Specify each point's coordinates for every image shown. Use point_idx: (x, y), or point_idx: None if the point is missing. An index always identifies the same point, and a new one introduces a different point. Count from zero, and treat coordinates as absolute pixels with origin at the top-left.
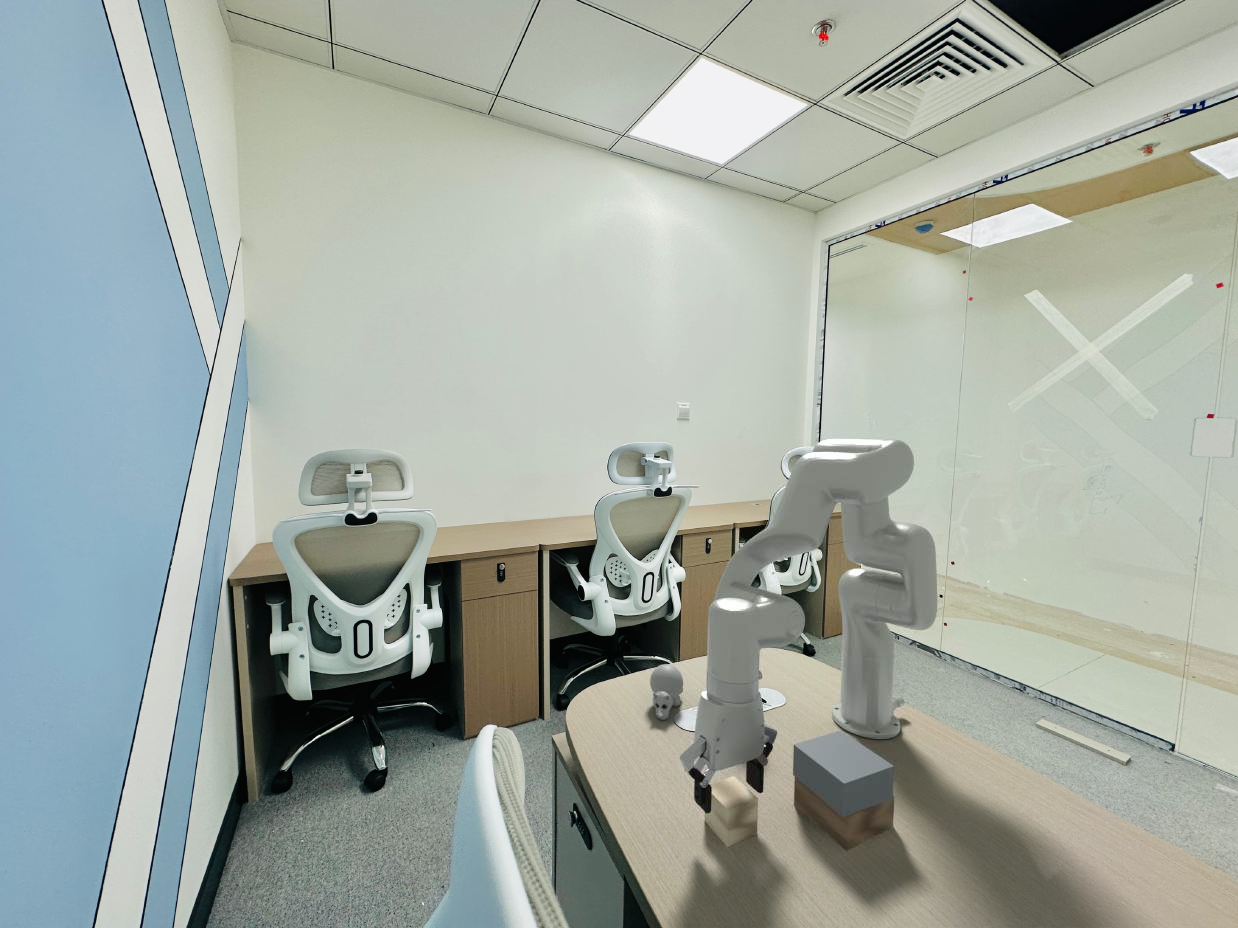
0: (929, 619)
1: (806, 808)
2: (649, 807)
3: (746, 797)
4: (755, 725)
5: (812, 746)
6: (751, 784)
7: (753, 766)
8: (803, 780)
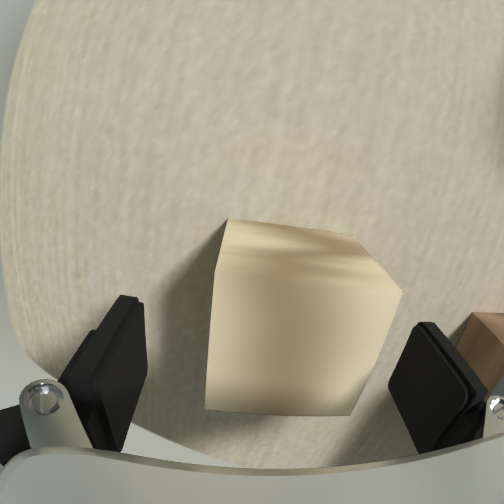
0: None
1: (463, 356)
2: (106, 70)
3: (320, 401)
4: None
5: None
6: (406, 355)
7: (436, 425)
8: (499, 393)
